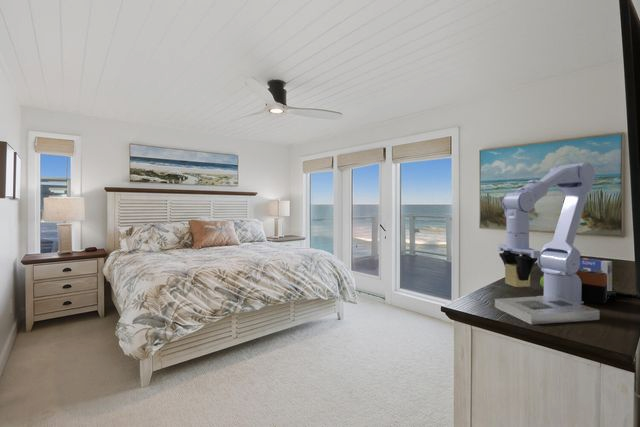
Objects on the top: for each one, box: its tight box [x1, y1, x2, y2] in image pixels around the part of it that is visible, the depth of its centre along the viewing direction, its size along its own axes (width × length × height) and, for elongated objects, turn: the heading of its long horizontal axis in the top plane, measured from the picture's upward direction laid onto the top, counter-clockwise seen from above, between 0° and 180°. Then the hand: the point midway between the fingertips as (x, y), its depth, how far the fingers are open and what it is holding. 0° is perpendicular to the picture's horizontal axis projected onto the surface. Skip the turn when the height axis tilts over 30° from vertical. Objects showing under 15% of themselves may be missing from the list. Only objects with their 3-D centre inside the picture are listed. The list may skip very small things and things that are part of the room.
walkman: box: [579, 257, 613, 291], centre depth 107 cm, size 8×3×12 cm, turn 28°
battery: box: [576, 269, 608, 305], centre depth 101 cm, size 4×7×10 cm, turn 39°
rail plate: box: [494, 295, 600, 325], centre depth 91 cm, size 20×14×3 cm
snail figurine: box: [539, 275, 544, 289], centre depth 114 cm, size 5×6×12 cm
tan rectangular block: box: [504, 263, 531, 288], centre depth 95 cm, size 4×4×6 cm
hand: (517, 278), depth 95 cm, fingers closed on tan rectangular block, 4 cm apart
